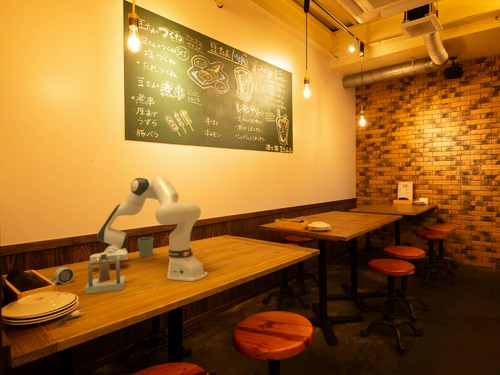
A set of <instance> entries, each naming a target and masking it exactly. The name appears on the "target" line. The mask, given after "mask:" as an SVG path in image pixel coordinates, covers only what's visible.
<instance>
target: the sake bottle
mask: <svg viewBox="0 0 500 375" xmlns="http://www.w3.org/2000/svg"><path fill="white" fill-rule="evenodd" d="M100 255H101V258H100V259H99V262H100V261H103V260H106V261H109V258H107V252H104V251H103V252H100ZM110 273H111V272H110V264H101V265H98V279H99V281H100V282H106V281H109V280H110V278H111V276H110V275H111V274H110Z"/></svg>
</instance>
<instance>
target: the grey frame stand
mask: <svg viewBox="0 0 500 375" xmlns="http://www.w3.org/2000/svg"><path fill="white" fill-rule="evenodd" d="M120 261H121V260H111V261H106V260H103V261H100V262H90V261H89V262H87V277H88V278H87V284H86V286H85V287H84V291H85V295H89V294H96V293H107V292H114V291H122V290H124V287H125V285H126V276H125V275H124V276H123V275H122V276H121V264H120ZM101 264H109V265H110V264H112V265H113V264H115V279H114V281H112V282H110V281H109V282H101V281H99V278H94V279H93V277H94V276H93V266H99V265H101ZM100 282H101V283H100Z"/></svg>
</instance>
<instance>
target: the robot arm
mask: <svg viewBox="0 0 500 375" xmlns="http://www.w3.org/2000/svg"><path fill="white" fill-rule="evenodd" d="M147 199H150V200H151V199H153V200H158V202H159V204H160V205H159V206H158V207H157V208H156V211H155V220H156V221H157V222H158V224H160V225H168V226H169V225H171V226H172V225H177V226H176V227H175V229H174V230H173V231H171V232H170V234H169V237H168V244H169V245H168V246H169V249H168V257H169V260H168V261H169V262H168V269H167V273H166V276H167V280H172V281H173V280H174V281H183V282H185V281H186V282H195V281H199V280H201V279H204V278H206V277H207V276H208V275H209V273H208V272H207V271H204V265H203V263H202V262H201V261H200V260H199V259H198V258H196V257H195V256H194V254H193V253H194V252H195V250H192V248H191V233H192V230H193V227H194V225H195V224H196V222H197V221H198V220H199V219H200V217H201V214H202V213H201V211H202V210H201V207H200V205H199V204H198V203H195V202H181V203H180V202H179V193H178V191H177V190H176V188H175V187H174V186H173V185H172V183H171V182H170V181H169V179H168V178H166V177H165V176H163V175H158V176H154V178H153V179H148V178H144V177H136V178H135V179H134V180H132V182H131V183H130V190H129V193H128V194H127V196H126V198H125V200H124V201H123V202H122V203H121V204H120V203H119V204H117V205H116V206H115V208H114V209H113V210H112V212H110V215H108V217H107V219H106V220H105V222H104V224H103V225H102V226H101V227H100V228H99V229H98V230H97V233H96V238H97V239H98V242H101V243H106V244H109V245H108V246H107V247H106V248H105V250H104V251H103V252H107V258H109V261H111V260H120V261H126V260H128V259H129V256H128V255H129V254H128V250H127V248H126V246H127V245H128V242H129V235H128V233H127V232H125V231H121V230H119V229H116V228H113V227H112V224H114V222H115V220H116V218H117V217H120V216H121V217H122V216H135V215H137V214H139V213H140V212H141V210H142V209H143V207H144V204H145V203H146V200H147ZM100 253H101V252H100ZM100 253H98V252H97V253H94V254H91V255H90V256H89V262H99V259H100V258H101V255H100Z"/></svg>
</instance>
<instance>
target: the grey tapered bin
mask: <svg viewBox="0 0 500 375" xmlns="http://www.w3.org/2000/svg"><path fill="white" fill-rule="evenodd" d="M137 244H138V245H137V247H138V253H139V257H140V258H142V257H146V258H151V257H153V255H154V252H153V251H154V238H153V237H141V238H138V239H137Z"/></svg>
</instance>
